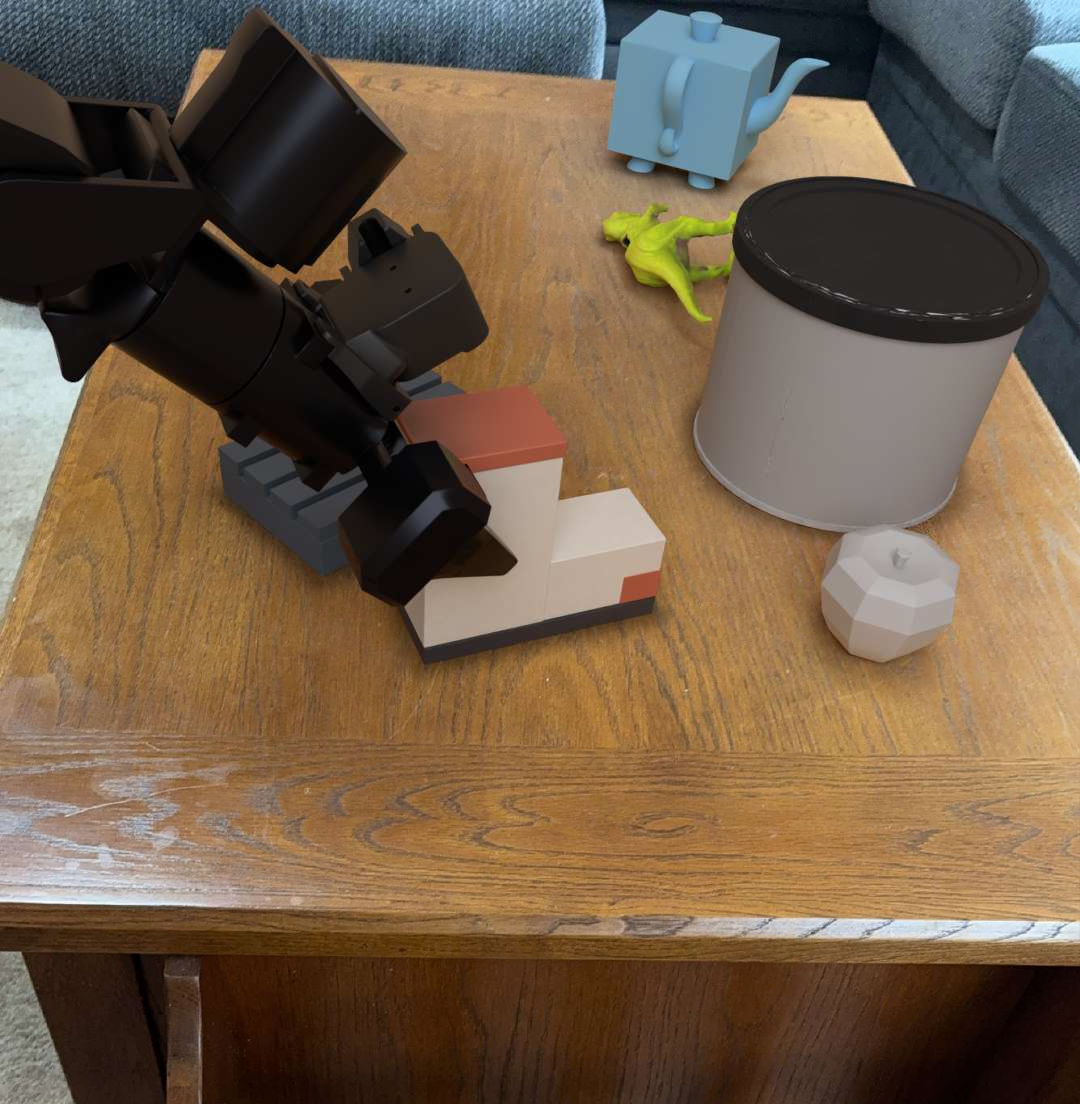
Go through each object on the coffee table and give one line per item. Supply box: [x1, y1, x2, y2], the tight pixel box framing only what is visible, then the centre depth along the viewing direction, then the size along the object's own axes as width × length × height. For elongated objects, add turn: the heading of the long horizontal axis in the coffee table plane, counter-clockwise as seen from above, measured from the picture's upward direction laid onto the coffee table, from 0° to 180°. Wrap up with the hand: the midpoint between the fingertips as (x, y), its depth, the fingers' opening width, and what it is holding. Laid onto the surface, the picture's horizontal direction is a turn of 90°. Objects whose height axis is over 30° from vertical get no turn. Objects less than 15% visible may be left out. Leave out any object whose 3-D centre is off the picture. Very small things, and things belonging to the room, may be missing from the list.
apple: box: [820, 524, 961, 664], centre depth 62 cm, size 8×8×7 cm
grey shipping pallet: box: [217, 369, 469, 577], centre depth 69 cm, size 16×10×4 cm, turn 135°
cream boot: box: [396, 384, 667, 666], centre depth 59 cm, size 14×5×13 cm, turn 113°
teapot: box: [606, 9, 831, 190], centre depth 104 cm, size 18×16×13 cm
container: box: [692, 175, 1051, 534], centre depth 72 cm, size 19×19×15 cm
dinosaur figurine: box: [601, 202, 738, 324], centre depth 91 cm, size 20×10×6 cm, turn 29°
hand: (477, 511), depth 57 cm, fingers open, 9 cm apart
